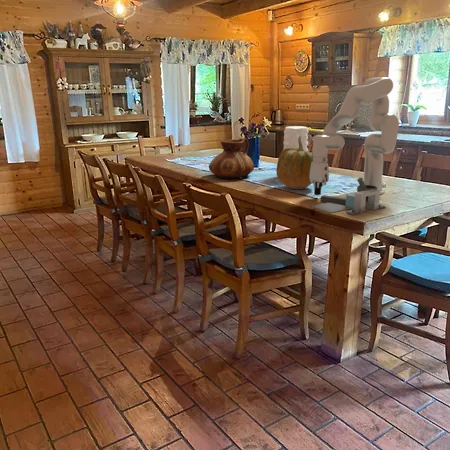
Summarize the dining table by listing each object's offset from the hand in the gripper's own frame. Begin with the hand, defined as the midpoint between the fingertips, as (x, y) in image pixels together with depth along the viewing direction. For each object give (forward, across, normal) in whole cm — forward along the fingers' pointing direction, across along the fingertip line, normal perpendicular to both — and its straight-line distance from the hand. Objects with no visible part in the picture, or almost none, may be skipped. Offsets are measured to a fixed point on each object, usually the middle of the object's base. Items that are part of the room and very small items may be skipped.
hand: (317, 194), depth 231 cm
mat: (+2, -19, +9) cm, 21 cm away
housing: (+2, -32, 0) cm, 32 cm away
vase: (+2, +55, -33) cm, 65 cm away
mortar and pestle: (+2, -18, -16) cm, 24 cm away
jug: (+2, +79, +2) cm, 79 cm away
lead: (+2, -13, 0) cm, 13 cm away
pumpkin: (+2, +25, -8) cm, 27 cm away
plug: (+2, -24, 0) cm, 24 cm away
